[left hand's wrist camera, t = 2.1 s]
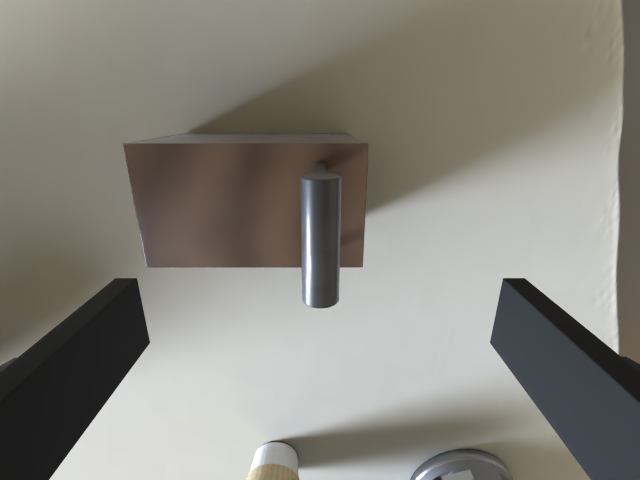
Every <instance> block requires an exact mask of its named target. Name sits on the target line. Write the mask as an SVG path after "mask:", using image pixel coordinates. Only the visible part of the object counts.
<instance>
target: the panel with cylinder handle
mask: <svg viewBox="0 0 640 480" xmlns="http://www.w3.org/2000/svg"><path fill="white" fill-rule="evenodd" d="M123 146H124V151H125V156H126V162H127V167H128V172H129V177H130V183H131V188H132V193H133V198H134V204H135V209H136V214H137V220H138V225H139V230H140V235H141V241H142V246H143V251H144V256H145V262H146V267H302V299H303V302H304V303H305V304H306V305H308V306H310V307H313V308H328V307H331V306H334V305H335V304H336V303H337V302H338V300H339V269H340V267H363V249H364V228H365V207H366V185H367V164H368V143H367V142H129V143H124V144H123Z"/></svg>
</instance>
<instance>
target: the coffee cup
mask: <svg viewBox="0 0 640 480" xmlns="http://www.w3.org/2000/svg"><path fill="white" fill-rule="evenodd" d="M246 480H299V477H298V458H297V453H296V452H295V450H294V449H293V448H292V447H291V446H289V445H287V444H285V443H281V442H271V443H267V444H264V445H262V446H261V447H260V448H259V449H258V450H257V451H256V454H255V457H254V460H253V464H252V467H251V470H250V473H249V474H248V477H247V479H246Z"/></svg>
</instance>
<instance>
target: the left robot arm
mask: <svg viewBox="0 0 640 480" xmlns="http://www.w3.org/2000/svg"><path fill="white" fill-rule="evenodd" d="M149 343H150V341H149V336H148V331H147V326H146V321H145V316H144V311H143V306H142V302H141V297H140V292H139V287H138V282H137V278H115V279H114V280H113V281H112V282H110V283H109V284H108V285H107V286H105V287H104V288H103V289H102V290H101V291H99V292H98V293H97V294H96V295H94V296H93V297H92V298H91V299H90V300H88V301H87V302H86V303H85V304H83V305H82V306H81V307H80V308H78V309H77V310H76V311H75V312H74V313H72V314H71V315H70V316H69V317H67V318H66V319H65V320H64V321H62V322H61V323H60V324H59V325H58V326H56V327H55V328H54V329H53V330H51V331H50V332H49V333H48V334H46V335H45V336H44V337H43V338H42V339H40V340H39V341H38V342H37V343H35V344H34V345H33V346H32V347H31V348H29V349H28V350H27V351H26V352H24V353H23V354H22V355H21V356H19V357H18V358H14V359H12V360H10V361H8V362H6V363H5V364H3V365H1V366H0V480H49V479H50V478H51V476H52V475H53V473H54V472H55V471H56V469H57V468H58V467H59V465H60V464H61V463H62V461H63V460H64V459H65V457H66V456H67V454H68V453H69V452H70V450H71V449H72V448H73V446H74V445H75V444H76V442H77V441H78V440H79V438H80V437H81V435H82V434H83V433H84V431H85V430H86V429H87V427H88V426H89V425H90V423H91V422H92V421H93V419H94V418H95V416H96V415H97V414H98V412H99V411H100V410H101V408H102V407H103V406H104V404H105V403H106V402H107V400H108V399H109V397H110V396H111V395H112V393H113V392H114V391H115V389H116V388H117V387H118V385H119V384H120V383H121V381H122V380H123V378H124V377H125V376H126V374H127V373H128V372H129V370H130V369H131V368H132V366H133V365H134V364H135V362H136V361H137V359H138V358H139V357H140V355H141V354H142V353H143V351H144V350H145V349H146V347H147V346H148V345H149ZM490 343H491V345H492V346H493V347H494V349H495V350H496V351H497V353H498V354H499V355H500V357H501V358H502V359H503V361H504V362H505V364H506V365H507V366H508V368H509V369H510V370H511V372H512V373H513V374H514V376H515V377H516V378H517V380H518V381H519V383H520V384H521V385H522V387H523V388H524V389H525V391H526V392H527V393H528V395H529V396H530V397H531V399H532V400H533V402H534V403H535V404H536V406H537V407H538V408H539V410H540V411H541V412H542V414H543V415H544V416H545V418H546V419H547V421H548V422H549V423H550V425H551V426H552V427H553V429H554V430H555V431H556V433H557V434H558V435H559V437H560V438H561V440H562V441H563V442H564V444H565V445H566V446H567V448H568V449H569V450H570V452H571V453H572V454H573V456H574V457H575V459H576V460H577V461H578V463H579V464H580V465H581V467H582V468H583V469H584V471H585V472H586V473H587V475H588V476H589V478H590V479H591V480H640V364H638V363H636V362H635V361H633V360H631V359H629V358H627V357H621V356H619V355H618V354H617V353H616V352H614V351H613V350H612V349H611V348H609V347H608V346H607V345H606V344H605V343H603V342H602V341H601V340H600V339H598V338H597V337H596V336H595V335H594V334H592V333H591V332H590V331H589V330H587V329H586V328H585V327H584V326H582V325H581V324H580V323H579V322H578V321H576V320H575V319H574V318H573V317H571V316H570V315H569V314H568V313H566V312H565V311H564V310H563V309H562V308H560V307H559V306H558V305H557V304H555V303H554V302H553V301H552V300H550V299H549V298H548V297H547V296H546V295H544V294H543V293H542V292H541V291H539V290H538V289H537V288H536V287H535V286H533V285H532V284H531V283H530V282H528V281H527V280H526V279H525V278H503V282H502V287H501V292H500V297H499V302H498V306H497V311H496V316H495V321H494V326H493V331H492V336H491V341H490ZM411 480H513V479H512V477H511V475H510V473H509V472H508V470H507V468H506V466H505V465H504V464H503V463H502V462H501V461H500V460H499V459H497V458H496V457H494V456H492V455H490V454H488V453H485V452H481V451H475V450H457V451H451V452H447V453H443V454H440V455H438V456H435V457H433V458H431V459H430V460H428V461H426V462H425V463H424V464H422V465H421V466H420V467H419V468H418V469H417V470H416V471H415V473H414V474H413V476H412V477H411Z"/></svg>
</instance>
